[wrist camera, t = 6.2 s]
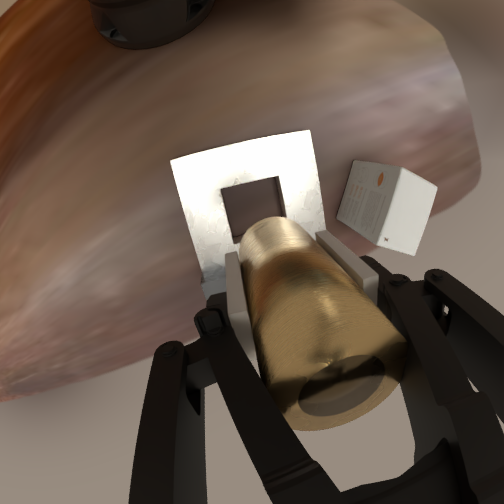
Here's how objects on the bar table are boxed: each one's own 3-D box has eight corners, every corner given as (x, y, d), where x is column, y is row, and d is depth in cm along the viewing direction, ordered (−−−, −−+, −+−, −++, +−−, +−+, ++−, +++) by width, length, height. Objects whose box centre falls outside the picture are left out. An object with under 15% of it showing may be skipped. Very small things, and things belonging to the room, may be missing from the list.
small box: (368, 228, 34) (414, 259, 25) (334, 218, 33) (375, 247, 24) (387, 173, 32) (439, 187, 22) (353, 158, 31) (402, 166, 21)
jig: (174, 159, 29) (164, 161, 24) (302, 131, 29) (319, 128, 24) (207, 277, 34) (206, 299, 29) (322, 249, 35) (338, 266, 30)
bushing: (247, 292, 20) (277, 443, 8) (230, 226, 18) (250, 358, 7) (314, 275, 20) (397, 402, 9) (305, 209, 18) (419, 304, 7)
